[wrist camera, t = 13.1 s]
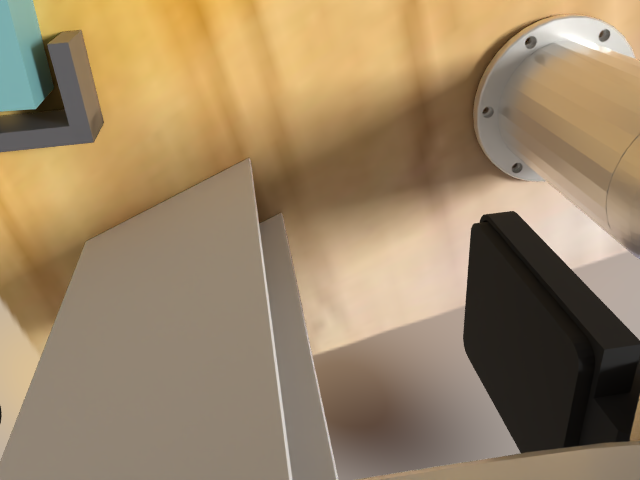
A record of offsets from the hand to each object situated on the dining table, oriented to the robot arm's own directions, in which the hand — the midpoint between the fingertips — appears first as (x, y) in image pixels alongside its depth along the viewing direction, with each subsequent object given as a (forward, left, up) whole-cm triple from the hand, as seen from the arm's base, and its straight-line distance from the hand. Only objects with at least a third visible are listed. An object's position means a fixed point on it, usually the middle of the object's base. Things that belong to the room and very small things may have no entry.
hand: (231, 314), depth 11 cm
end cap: (+13, +3, -33) cm, 36 cm away
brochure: (+5, +15, -34) cm, 37 cm away
